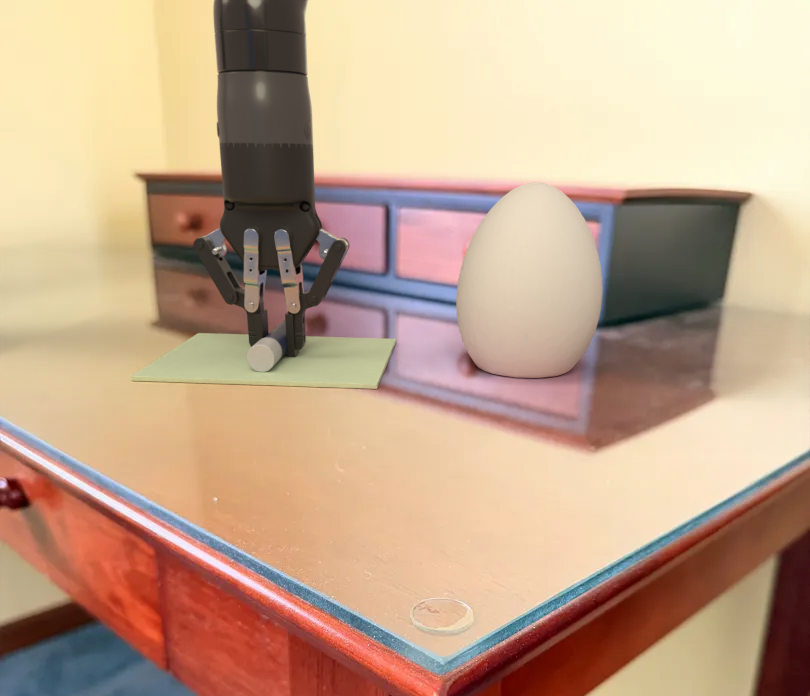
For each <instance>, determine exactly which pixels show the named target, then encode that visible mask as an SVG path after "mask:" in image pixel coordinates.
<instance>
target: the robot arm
mask: <svg viewBox="0 0 810 696" xmlns="http://www.w3.org/2000/svg"><path fill="white" fill-rule="evenodd" d="M308 2H309V0H213V6H212V7H213V9H212V10H213V12H212V13H213V14H212V16H213V31H214V32H213V33H214V47H215V48H214V49H215V59H216V60H215V61H216V72H217V75H216V76H217V89H216V92H217V93H216V116H217V117H216V118H217V119H216V120H217V121H216V134H217V137H218V144H219V157H220V158H219V159H220V170H221V181H222V184H221V185H222V196H223V206H224V207H223V212H222V213H223V214H222V216H221V218H220V220H219V228H216V229H215V230H213V231H212V232H210V233H208V234H207V235H202V236H199V237H198V238H196V239H195V240H194V241H193V249H194V250H195V252H196V254H197V256H198V258H199V259H200V261H201V262H202V265H203V266H204V268H205V270H206V271H207V273H208V275H209V276H210V278H211V280H212V281H213V284H214V285H215V287H216V288H217V290H218V292H219V293H220V295H221V297H222V299H223V301H224V302H225V303H226V304H227V305H229V306H230V305H231V306H232V305H233V306H234V305H235V306H237V307H240V308H241V309H243V310H244V311H245V313H246V318H247V320H246V321H247V331H248V332H247V334H248V335H249V344H250V346H251V347H252V346H253V345H255V344H256V343H257V342H258V341H259V340H261V339H262V338H264V337H266V336H267V335H268V334H269V333H270V332H269V318H268V317H269V315H268V309H265V294H266V281H267V277H268V276H267V275H268V270H274V271H277V272H279V274H280V281H281V286H282V287H283V292H284V299H285V306H286V310H287V312H286V313H285V314H284V320H285V322H286V342H287V355H288V356H296V355H297V354H298V353H299V350H301V349H302V348H303V347H304V345H305V342H306V336H307V335H306V311H307V310H308V309H310V308H313V307H318V306H319V305H320V304H321V303H322V302H323V301H324V300H325V298H326V296H327V294H328V292H329V290H330V288H331V286H332V284H333V282H334V280H335V278H336V276H337V274H338V272H339V269H340V267H341V265H342V263H343V262H344V260H345V258H346V255H347V253H348V251H349V249H350V241H349V240H348V239H347V238H345V237H337V236H336V235H335V234H332V233H330V232H329V231H327V230H325V229H324V228H323V224H322V221H321V219H320V217H319V215H318V213H317V209H316V191H315V188H316V187H315V186H316V185H315V161H314V160H315V158H314V157H315V156H314V128H313V107H312V100H311V94H310V86H309V76H308V73H309V72H308V49H307V47H308V46H307V45H308V43H307V42H308V41H307V25H306V23H307V22H306V14H307V7H308ZM226 241H227V243H228V244H229V245H230V247H231V248H232V249H233V251H234V252H235V253H236V255H237V256H238V258H239V259H240V260H241V262H242V263H243V284H244V289H243V286H241V283H240V282H239V280H238V278H237V277H236V275H235V273H234V271H233V270H232V268H231V266H230V264H229V262H228V261H227V259H226V257H225V256H226V255H227V252H228V249H227V246H226ZM316 242H318V244H319V250H318V255H319V257H320V259H321V260H323V262H322V264H321V266H320V269H319V270H318V272H317V275H316V277H315V279H314V281H313V283H312V285H311V288H310V289H309V291H306V292H305V288H304V273H303V272H304V271H303V266H302V264H303V262H304V260H306V258H307V256H308V255H309V253H310V251H311V250H312V249H313V247H314V245H315V244H316Z"/></svg>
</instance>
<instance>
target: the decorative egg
mask: <svg viewBox="0 0 810 696" xmlns="http://www.w3.org/2000/svg"><path fill="white" fill-rule="evenodd" d="M592 233H593V232H592V230H591V228H590V227H589V225H588V222H587V221H586V219H585V217H584V216H583V214H582V212H581V211H580V210H579V208H578V207H577V205H576V204H575V203H574V202H573V201H572V199H571V198H570V197H569V196H567V194H566V193H564V192H563V191H561V190H560V189H559V188H557V187H556V186H554V185H552V184H548V183H544V182H528V183H525V184H521V185H518V186H517V187H515V188H514V189H512V190H510V191H508V192H507V193H505V194H504V195H503V196H502V197H501V198H500V199H499V200H498V201H497V202H496V203H495V204H493V206H492V207H491V208H490V210H489V211H488V212H487V214H486V215H485V216H484V218H483V219H482V220H481V222H480V223H479V224H478V226H477V228H476V230H475V231H474V234H473V236H472V237H471V238H470V241H469V244H468V246H467V248H466V251H465V254H464V256H463V260H462V261H461V262H462V263H461V266H460V270H459V276H458V279H457V286H456V287H457V288H456V299H455V300H456V301H455V303H456V304H455V305H456V306H455V308H456V309H455V311H456V318H457V320H456V321H457V326H458V331H459V334H460V338H461V341H462V343H463V347H465V350H466V351H467V354H468V356H469V357H470V358H471V360H472V362H473V363H474V365H476V367H477V368H478V369H480V370H482V371H484V372H486V373H490V374H493V375H495V376H496V375H497V376H502V377H509V378H521V379H527V378H528V379H541V378H551V377H558V376H561V375H564V374H566V373H568V372H570V371H571V370H572V369H573V368H574V367H575V366H576V365H577V363H578V362H579V361H580V360H581V359H582V357H583V356H584V354H585V353H586V352H587V350H588V348H589V346H590V344H591V342H592V340H593V338H594V336H595V333H596V330H597V328H598V324H599V321H600V316H601V309H602V302H603V275H602V267H601V260H600V255H599V252H598V248H597V245H596V241H595V239H594V236H593V234H592Z"/></svg>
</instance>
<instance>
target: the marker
mask: <svg viewBox="0 0 810 696" xmlns="http://www.w3.org/2000/svg"><path fill="white" fill-rule="evenodd" d="M286 352H287V342H286V322H285V319H284V320H283V321H282V322H281V323H279V324H278V325H277V326H276V327H275V328H273V329H272V330H271V331H270V332H269V334H268V335H267V336H266V337H264V338H262V339H261V340H259V341H258V342H257V343H256V344H255V345H253V346H252V347H251V348H250V349H249V351H248V354H247V360H248V363H249V365H250V366H251V368H253V369H254V370H255V371H258V372H266V371H269V370H270V369H271V368H272V367H273V366H274V365H275V364H276V363H277V362H278V361H279V360H280V359H281V358H282V356H283V355H284V354H285V353H286Z"/></svg>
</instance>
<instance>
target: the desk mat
mask: <svg viewBox="0 0 810 696" xmlns="http://www.w3.org/2000/svg"><path fill="white" fill-rule="evenodd" d="M396 345H397V338H382V337H381V338H379V337H346V336H345V337H344V336H316V335H315V336H313V335H312V336H311V335H310V336H309V335H306V342H305V345H304V347H303V348H302V349H301V350H299V353H298V354H297V355H296V356H288V355H287V352H286V353H285V354H284V355H283V356H282V358H281V359H280V360H279V361H278V362H277V363H276V364H275V365H274V366H273V367H272V368H271V369H270V370H269V371H266V372H258V371H255V370H254V369H253V368H251V366H250V365H249V363H248V360H247V354H248V351H249V349H250V348H251V346H250V344H249V335H248V333H246V334H245V333H244V334H242V333H212V332H198V333H196V334H195V335H193V336H191V337H190V338H188V339H187V340H185V341H183V342H182V343H180V344H179V345H177V346H175V347H174V348H173V349H171V350H169V351H168V352H166V353H165V354H163V355H162V356H160V357H158V358H157V359H155V360H154V361H152V362H150V363H149V364H148V365H146V366H145V367H143V368H141V369H139V370H138V371H136V372H135V373H133V374H132V375H130V380H131V381H132V382H154V383H155V382H158V383H184V384H185V383H186V384H187V383H188V384H219V385H243V386H244V385H249V386H253V385H254V386H275V387H276V386H277V387H307V388H337V389H362V390H363V389H367V390H377V389H378V388H379V386H380V383H381V380H382V378H383V376H384V373H385V371H386V368H387V366H388V364H389V361H390V359H391V357H392V355H393V352H394V349H395V347H396Z"/></svg>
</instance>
